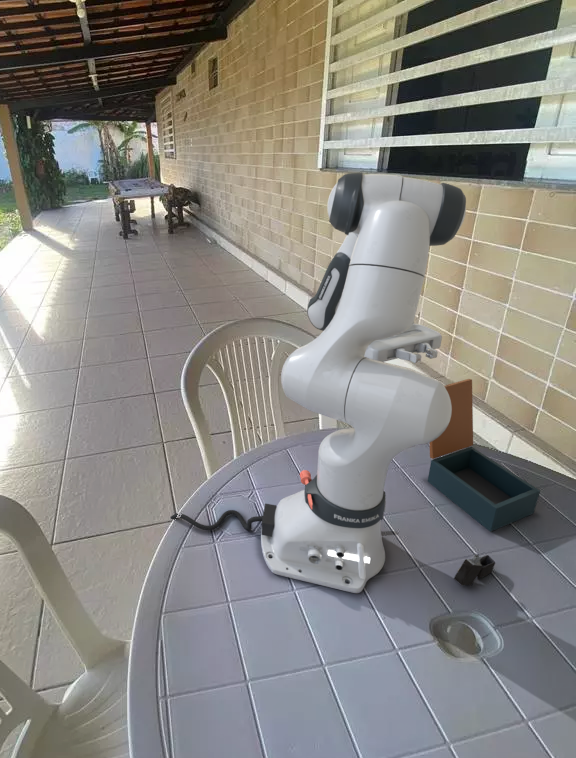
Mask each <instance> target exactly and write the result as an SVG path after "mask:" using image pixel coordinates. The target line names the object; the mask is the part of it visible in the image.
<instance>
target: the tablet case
mask: <svg viewBox="0 0 576 758" xmlns="http://www.w3.org/2000/svg"><path fill="white" fill-rule="evenodd" d="M469 468H470V469H471V470H472V471H474V472H475V473H477V474H478V475H480V476H481V477H482V478H484V479H485V480H487V481H488V482H490V483H491V484H493V485H494V486H495V487H497V488H498V489H500V490H501V491H503V492H504V493H506V494H507V495H508V496H510V497H511V498H510V499H508V500H505V501H503V502H500V503H498V504H494V503H493V502H491V501H490V500H489V499H487V498H486V497H485V496H483V495H482V494H481V493H479V492H478V491H476V490H475V489H474V488H472V487H471V486H470V485H468V484H467V483H466V482H464V481H463V480H461V479H460V478H459V477H457V476H456V475H455V473H458V472H461V471H463V470H466V469H469ZM427 482H428V483H429V484H430V486H431V485H432V486H433V487H434V488H435V489H436V490H438V491H439V493H441V494H443V495H444V496H445V497H447V499H448V500H450V501H451V502H453V504H455V505H456V506H457V507H459V508H460V509H461V510H463V511H464V512H465V513H466V514H467V515H469V516H470V517H471V518H472V519H474V520H475V521H476V522H477V523H479V524H480V525H481V526H483V528H485V529H486V530H488V532H494V531H496V530H498V529H501V528H503V527H505V526H507V525H511V524H512V523H514V522H517V521H519V520H521V519H524V518H527V517H529V516H530V515H533V514H534V513H535V510H536V507H537V503H538V500H539V496H540V493H541V490H540V489H538V488H537V487H535V486H534V485H532V483H529V482H528V481H527V480H524V479H523V478H522V477H519V476H518V475H517V474H515V473H514V472H512V471H511V470H509V469H507V468H506V467H505V466H503V465H501V464H499V463H498V462H497V461H495V460H494V459H492V458H491V457H489V456H487V455H486V454H484V453H482V451H479V450H478V449H476V448H475V447H473V446H469V447H467V448H464V449H461V450H458V451H455V452H452V453H449V454H446V455H443V456H440V457H437V458H434V459H431V460H430V466H429V469H428V476H427Z"/></svg>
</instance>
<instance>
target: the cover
mask: <svg viewBox="0 0 576 758" xmlns="http://www.w3.org/2000/svg"><path fill="white" fill-rule="evenodd" d="M444 387H445V388H446V390H447V392H448V394H449V397H450V400H451V406H452V412H451V418H450V422H449V424H448V426H447V428H446V429H445V431H444V432H443V433H442V434H441V435H440V436H439V437H438V438H437V439H435V440H433V441H432V442H430V443H428V444H429V458H430V459H431V460H433V459H436V458H439V457H442V456H445V455H448V454H451V453H453V452H456V451H459V450H462V449H465V448H468V447H473V446H474V411H473V410H474V409H473V404H474V403H473V379H471V378H467V379H462V380H459V381H455V382H451V383H448V384H445V385H444Z"/></svg>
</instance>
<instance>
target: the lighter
mask: <svg viewBox="0 0 576 758" xmlns="http://www.w3.org/2000/svg"><path fill="white" fill-rule="evenodd" d="M495 564H496V561H495V560H494V559H493V558H492V557H491V555H489V554H486V555H484V556H480V555H479V554H477V553H475V554H474V555H473V556H472V557H471V558H466V559H464V560H463V562H462V564H461V566H460V567H459V568H458V569H457V572H456V574H455V576H454V577H453V579H454V580H455V581H456V582H457V583H458V584H459V585H461V586H472V585H473V583H474V582H475V580H476V579H477V578H478V579H482V578H484V577H487V576H489V575H490V574H491V573H492V572H493V571H494V567H495Z"/></svg>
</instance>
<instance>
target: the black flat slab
mask: <svg viewBox="0 0 576 758" xmlns="http://www.w3.org/2000/svg"><path fill="white" fill-rule="evenodd" d="M455 475H456V476H457V477H459V478H460V479H461V480H463V481H464V482H466V483H467V484H468V485H470V486H471V487H472V488H474V489H475V490H476V491H478V492H479V493H481V494H482V495H483V496H485V497H486V498H487V499H489V500H490V501H491V502H493V503H494V504H498V503H500V502H503V501H505V500H508V499H510V498H511V497H510V496H508V495H507V494H506V493H504V492H503V491H501V490H500V489H498V488H497V487H495V486H494V485H493V484H491V483H490V482H488V481H487V480H485V479H484V478H482V477H481V476H480V475H478V474H477V473H475V472H474V471H472V470H471V469H470V468H469V469H466V470H463V471H461V472H458V473H455Z"/></svg>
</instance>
